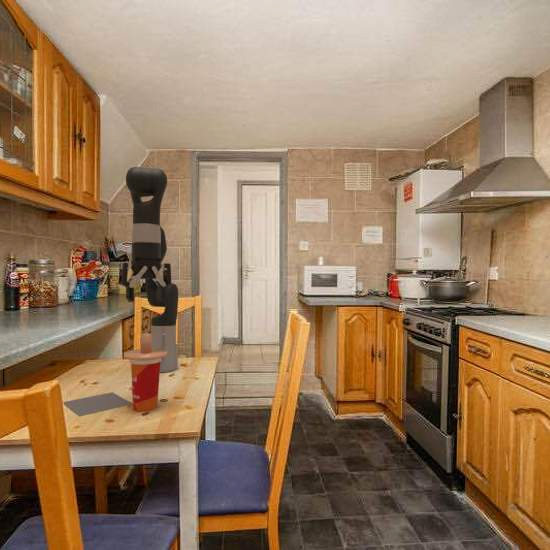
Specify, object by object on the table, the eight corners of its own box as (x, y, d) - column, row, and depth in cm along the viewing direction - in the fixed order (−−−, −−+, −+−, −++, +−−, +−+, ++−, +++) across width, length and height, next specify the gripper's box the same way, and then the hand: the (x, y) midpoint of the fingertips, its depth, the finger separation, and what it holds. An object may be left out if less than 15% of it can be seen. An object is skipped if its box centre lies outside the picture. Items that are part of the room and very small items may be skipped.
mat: (112, 395, 118) (112, 392, 118) (133, 407, 108) (133, 403, 108) (61, 406, 108) (61, 402, 108) (79, 420, 98) (79, 416, 98)
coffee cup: (133, 406, 109) (134, 352, 109) (163, 405, 110) (164, 352, 110) (124, 417, 101) (125, 358, 100) (157, 416, 101) (158, 358, 101)
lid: (154, 349, 113) (154, 329, 113) (175, 355, 105) (175, 334, 105) (116, 355, 105) (117, 333, 105) (136, 362, 97) (136, 338, 97)
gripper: (162, 243, 114) (162, 298, 114) (114, 240, 104) (114, 301, 104) (176, 242, 109) (176, 300, 109) (127, 239, 99) (126, 303, 99)
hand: (145, 301), depth 107 cm, fingers open, 8 cm apart
